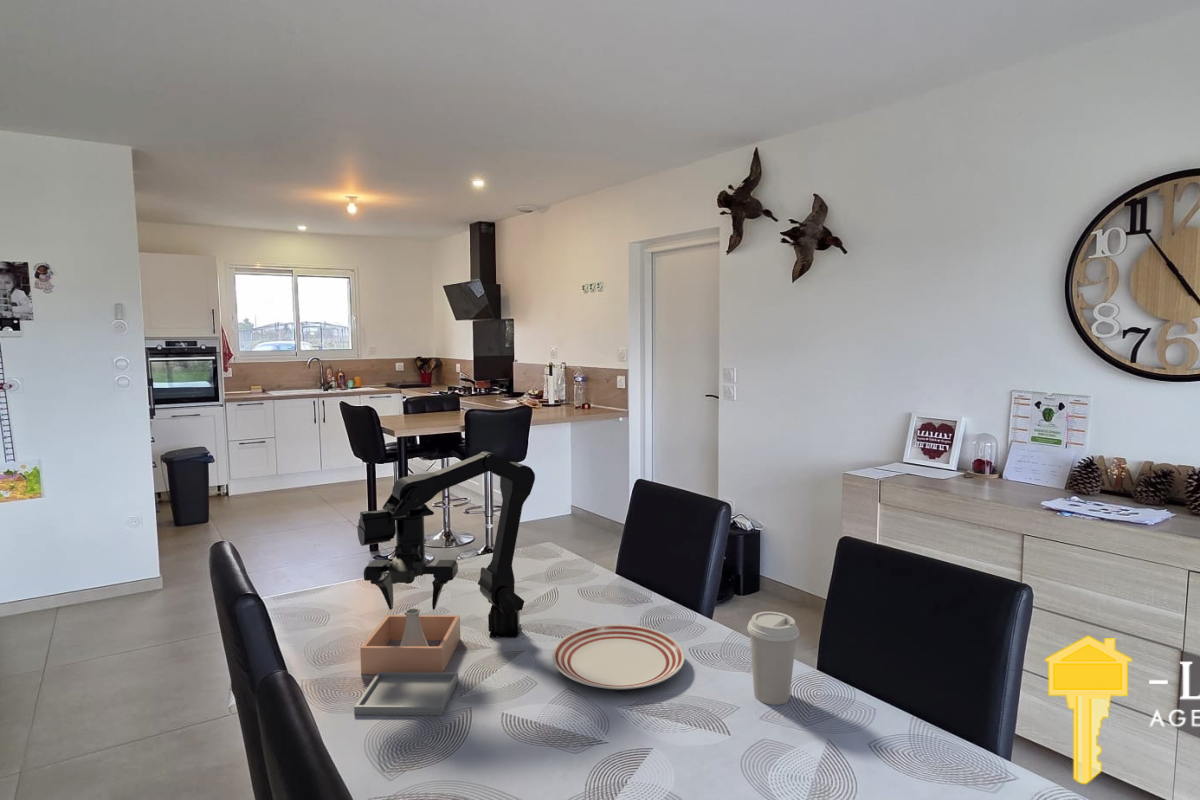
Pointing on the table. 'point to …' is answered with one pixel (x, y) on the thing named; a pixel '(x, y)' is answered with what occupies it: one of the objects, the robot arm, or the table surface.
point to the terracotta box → (410, 657)
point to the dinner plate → (618, 656)
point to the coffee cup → (772, 655)
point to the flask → (413, 629)
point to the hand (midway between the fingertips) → (412, 609)
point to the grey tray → (407, 694)
